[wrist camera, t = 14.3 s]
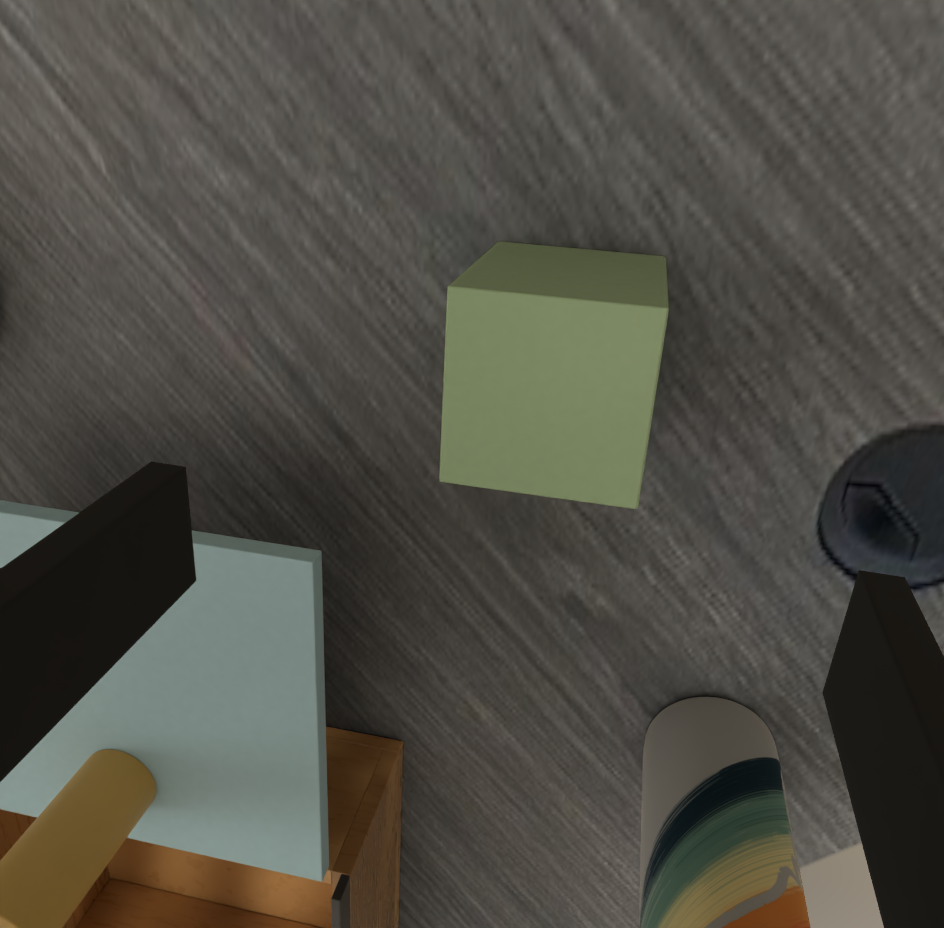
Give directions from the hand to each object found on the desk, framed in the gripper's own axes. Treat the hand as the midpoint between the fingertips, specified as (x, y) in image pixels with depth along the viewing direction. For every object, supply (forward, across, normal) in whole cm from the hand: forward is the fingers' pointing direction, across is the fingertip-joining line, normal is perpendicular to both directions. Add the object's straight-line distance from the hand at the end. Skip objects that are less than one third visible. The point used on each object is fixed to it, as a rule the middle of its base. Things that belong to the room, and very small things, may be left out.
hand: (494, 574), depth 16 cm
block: (+16, 0, +1) cm, 16 cm away
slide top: (+8, -15, -13) cm, 21 cm away
